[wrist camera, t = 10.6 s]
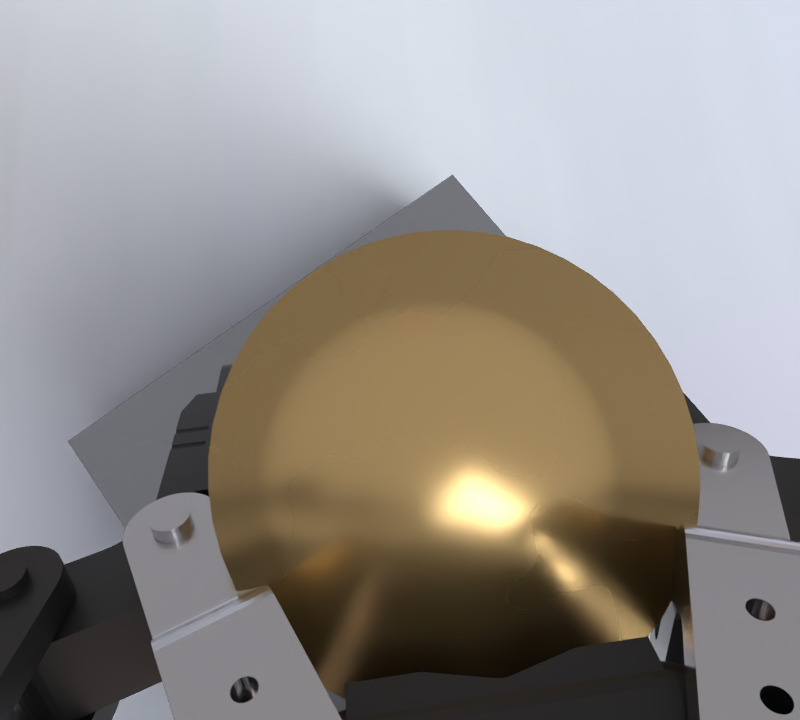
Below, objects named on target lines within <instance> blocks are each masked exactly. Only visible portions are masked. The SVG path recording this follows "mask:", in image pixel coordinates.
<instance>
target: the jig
mask: <svg viewBox="0 0 800 720" xmlns="http://www.w3.org/2000/svg"><path fill="white" fill-rule="evenodd" d="M436 230H462V231H476V232H484V233H489V234H494V235H499V236H504V237H506V236H505V235H504V233H503V232H502V231H501V230H500V229H499V228H498V227H497V225H496V224H495V223H494V222H493V221H492V220H491V218H490V217H489V216H488V215H487V214H486V213H485V212H484V210H483V209H482V208H481V207H480V206H479V205H478V203H477V202H476V201H475V200H474V199H473V198H472V197H471V195H470V194H469V193H468V192H467V191H466V190H465V188H464V187H463V186H462V185H461V184H460V183H459V182H458V180H457V179H456V178H455V177H454V176H453V175H451V176H450V177H448V178H447V179H446V180H444V181H443V182H441V183H440V184H438V185H437V186H436V187H434V188H433V189H431V190H430V191H428V192H427V193H425V194H424V195H423V196H421V197H420V198H418V199H417V200H415V201H414V202H412V203H411V204H410V205H408V206H407V207H405V208H404V209H402V210H401V211H399V212H398V213H397V214H395V215H394V216H392V217H391V218H389V219H388V220H386V221H385V222H384V223H382V224H381V225H379V226H378V227H376V228H375V229H373V230H372V231H371V232H369V233H368V234H366V235H365V236H363V237H362V238H360V239H359V240H358V241H356V242H355V243H353V244H352V245H350V246H349V247H347V248H346V249H345V250H343V251H342V252H340V253H339V254H337V255H336V256H334V257H333V258H332V259H330V260H329V261H327V262H326V263H328V262H330V261H331V260H333V259H335V258H336V257H338V256H340V255H343V254H345V253H347V252H349V251H352V250H354V249H356V248H358V247H361V246H363V245H365V244H369V243H372V242H375V241H379V240H382V239H385V238H388V237H392V236H397V235H403V234H408V233H414V232H420V231H436ZM326 263H324V264H323V265H325V264H326ZM323 265H322V266H323ZM320 267H321V266H320ZM320 267H319V268H320ZM317 269H318V268H317ZM314 271H315V270H314ZM307 276H308V275H307ZM304 278H305V277H304ZM304 278H303V279H304ZM303 279H301V280H303ZM301 280H300V281H301ZM300 281H298V282H297V283H296V284H298V283H299V282H300ZM296 284H294V285H293V286H291V287H290V288H288V289H287V290H285V291H284V292H283V293H281V294H280V295H278V296H277V297H275V298H274V299H272V300H271V301H270V302H268V303H267V304H265V305H264V306H262V307H261V308H259V309H258V310H257V311H255V312H254V313H252V314H251V315H249V316H248V317H246V318H245V319H244V320H242V321H241V322H239V323H238V324H236V325H235V326H233V327H232V328H231V329H229V330H228V331H226V332H225V333H223V334H222V335H221V336H219V337H218V338H216V339H215V340H213V341H212V342H210V343H209V344H208V345H206V346H205V347H203V348H202V349H200V350H199V351H197V352H196V353H195V354H193V355H192V356H190V357H189V358H187V359H186V360H184V361H183V362H182V363H180V364H179V365H177V366H176V367H174V368H173V369H171V370H170V371H169V372H167V373H166V374H164V375H163V376H161V377H160V378H158V379H157V380H156V381H154V382H153V383H151V384H150V385H148V386H147V387H145V388H144V389H143V390H141V391H140V392H138V393H137V394H135V395H134V396H132V397H131V398H130V399H128V400H127V401H125V402H124V403H122V404H121V405H120V406H118V407H117V408H115V409H114V410H112V411H111V412H109V413H108V414H107V415H105V416H104V417H102V418H101V419H99V420H98V421H96V422H95V423H94V424H92V425H91V426H89V427H88V428H86V429H85V430H83V431H82V432H81V433H79V434H78V435H76V436H75V437H73V438H72V439H70V440H69V441H68V442H69V444H70V445H71V447H72V448H73V450H74V451H75V453H76V454H77V456H78V457H79V459H80V460H81V462H82V463H83V465H84V466H85V468H86V469H87V471H88V472H89V474H90V475H91V477H92V479H93V480H94V482H95V483H96V485H97V486H98V488H99V489H100V491H101V492H102V494H103V495H104V497H105V498H106V500H107V501H108V503H109V504H110V506H111V507H112V509H113V510H114V512H115V513H116V515H117V516H118V518H119V519H120V521H121V522H122V524H123V525H124V527H125V528H126V526H127V524H128V523H129V521H130V520H131V519H132V518H133V516H134V515H136V514H137V513H138V512H139V511H140V510H141V509H143V508H144V507H145V506H147V505H149V504H150V503H152V502H154V501H156V499H157V495H158V491H159V488H160V484H161V481H162V477H163V474H164V470H165V467H166V463H167V460H168V456H169V453H170V449H172V442H173V439H174V435H175V434H176V428H177V424H178V421H179V417H180V414H181V411H182V410H183V409H184V408H185V407H186V406H187V405H188V404H189V403H190V402H191V400H192V399H193V398H194V397H195V396H196V395H197V394H205V393H213V392H216V391H217V386H218V381H219V377H220V372H221V368H222V366H223V365H228V364H233V363H234V361H235V360H236V358H237V356H238V354H239V353H240V351H241V349H242V347H243V346H244V344H245V342H246V340H247V339H248V337H249V336H250V334H251V333H252V332H253V330H254V329H255V328H256V326H257V325H258V324H259V322H260V321H261V320H262V318H263V317H264V316H265V315H266V313H267V312H268V311H269V310H270V309H271V308H272V307H273V306H274V305H275V304H276V303H277V302H278V301H279V300H280V299H281V298H282V297H283V296H284V295H285V294H286V293H287V292H288V291H289V290H290V289H291V288H292V287H294V286H295V285H296ZM325 689H326V688H325ZM326 691H327V693H328V695H329V697H330V699H331V701H332V702H333V704H334V706H335V708H336V710H337V712H340V711H342V710H345V709H346V702H345V699H344V698H342V697H340V696H338V695H336V694H334V693H332V692H330V691H329V690H327V689H326Z"/></svg>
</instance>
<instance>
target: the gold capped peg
mask: <svg viewBox="0 0 800 720" xmlns="http://www.w3.org/2000/svg"><path fill="white" fill-rule="evenodd" d="M208 491H209V498H210V506H211V513H212V521H213V526H214V529H215V533H216V537H217V540H218V544H219V548H220V552H221V555H222V558H223V560H224V563H225V565H226V567H227V570H228V572H229V575H230V577H231V579H232V582H233V584H234V586H235V588H236V590H237V591H243V590H248V589H253V588H257V587H262V586H264V585H268V586H269V588H270V589H271V590H272V592H273V594H274V595H275V597H276V599H277V601H278V603H279V604H280V606H281V608H282V610H283V612H284V614H285V616H286V617H287V619H288V621H289V623H290V625H291V627H292V628H293V630H294V632H295V634H296V636H297V638H298V640H299V641H300V643H301V645H302V647H303V649H304V651H305V653H306V654H307V656H308V658H309V660H310V662H311V664H312V665H313V667H314V669H315V671H316V673H317V675H318V677H319V678H320V680H321V682H322V684H323V686H324V688H326V689H327V690H329V691H330V692H332V693H334V694H336V695H338V696H340V697H342V698H344V699H345V683H352V682H358V681H365V680H371V679H377V678H384V677H390V676H397V675H403V674H409V673H416V672H430V673H441V674H453V675H464V676H476V677H488V678H505V677H509V676H512V675H514V674H516V673H518V672H521V671H523V670H525V669H528V668H530V667H532V666H534V665H537V664H539V663H541V662H544V661H546V660H548V659H550V658H553V657H555V656H557V655H559V654H562V653H564V652H566V651H569V650H571V649H573V648H576V647H583V646H589V645H595V644H602V643H608V642H615V641H621V640H627V639H634V638H640V637H647V636H649V635H650V634H651V632H652V631H653V629H654V628H655V627H656V625H657V624H658V622H659V621H660V619H661V618H662V617H663V615H664V614H665V612H666V610H667V608H668V606H669V604H670V602H671V600H672V584H673V568H674V552H675V536H676V526H680V525H681V524H683V525H697V523H698V513H699V501H700V469H699V454H698V449H697V443H696V438H695V432H694V426H693V422H692V419H691V416H690V413H689V410H688V406H687V403H686V400H685V397H684V394H683V392H682V389H681V387H680V385H679V383H678V380H677V378H676V376H675V374H674V372H673V369H672V367H671V365H670V364H669V362H668V360H667V359H666V357H665V355H664V354H663V352H662V350H661V349H660V347H659V345H658V344H657V342H656V340H655V339H654V338H653V336H652V335H651V334H650V333H649V331H648V330H647V329H646V327H645V326H644V325H643V324H642V322H641V321H640V320H639V319H638V317H637V316H636V315H635V314H634V313H633V312H632V311H631V310H630V309H629V308H628V307H627V306H626V305H625V304H624V303H623V302H622V301H621V300H620V299H619V298H618V297H617V296H616V295H615V294H614V293H613V292H612V291H611V290H609V289H608V288H607V287H605V286H604V285H603V284H602V283H600V282H599V281H598V280H597V279H595V278H594V277H593V276H591V275H590V274H589V273H587V272H585V271H584V270H582V269H580V268H579V267H577V266H575V265H574V264H572V263H570V262H569V261H567V260H566V259H564V258H562V257H559V256H557V255H555V254H553V253H551V252H548V251H546V250H544V249H542V248H540V247H538V246H534V245H531V244H528V243H525V242H522V241H519V240H516V239H513V238H509V237H504V236H499V235H494V234H489V233H484V232H476V231H462V230H436V231H420V232H414V233H408V234H403V235H397V236H392V237H388V238H385V239H382V240H379V241H375V242H372V243H369V244H365V245H363V246H361V247H358V248H356V249H354V250H352V251H349V252H347V253H345V254H343V255H340V256H338V257H336V258H335V259H333V260H331V261H330V262H328V263H326V264H325V265H323V266H321V267H320V268H318V269H316V270H315V271H313V272H311V273H310V274H309V275H308V276H306V277H305V278H304V279H303V280H301V281H300V282H299V283H298V284H296V285H295V286H294V287H292V288H291V289H290V290H289V291H288V292H287V293H286V294H285V295H284V296H283V297H282V298H281V299H280V300H279V301H278V302H277V303H276V304H275V305H274V306H273V307H272V308H271V309H270V310H269V311H268V312H267V313H266V315H265V316H264V317H263V318H262V320H261V321H260V322H259V324H258V325H257V326H256V328H255V329H254V330H253V332H252V333H251V334H250V336H249V337H248V339H247V340H246V342H245V344H244V346H243V347H242V349H241V351H240V353H239V354H238V356H237V358H236V360H235V361H234V363H233V365H232V368H231V370H230V373H229V375H228V377H227V380H226V382H225V385H224V387H223V390H222V392H221V395H220V399H219V402H218V406H217V410H216V414H215V417H214V421H213V425H212V433H211V441H210V448H209V456H208Z"/></svg>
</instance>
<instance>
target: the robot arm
mask: <svg viewBox="0 0 800 720" xmlns="http://www.w3.org/2000/svg"><path fill="white" fill-rule="evenodd" d="M232 365H233V364H228V365H223V366H222V368H221V372H220V377H219V381H218V386H217V391H216V392H213V393H205V394H197V395H196V396H195V397H194V398H193V399H192V400H191V402H190V403H189V404H188V405H187V406H186V407H185V408H184V409H183V410H182V411H181V414H180V417H179V421H178V424H177V428H176V434H175V435H174V439H173V442H172V449H170V453H169V456H168V460H167V463H166V467H165V470H164V474H163V477H162V481H161V484H160V488H159V491H158V495H157V499H156V501H154V502H152V503H150V504H149V505H147V506H145V507H144V508H143V509H141V510H140V511H139V512H138V513H137V514H136V515H134V516H133V518H132V519H131V520H130V521H129V523H128V524H127V526H126V528H125V531H124V533H123V541H122V542H120V543H118V544H116V545H114V546H112V547H110V548H107V549H105V550H103V551H100V552H97V553H95V554H92V555H89V556H87V557H84V558H81V559H78V560H76V561H73V562H70V563H68V564H65V565H64V564H63V561H62V559H61V558H60V556H59V554H58V553H56V552H55V551H54V550H52V549H50V548H47V547H42V546H27V547H21V548H16V549H13V550H10V551H7V552H4V553H2V554H0V720H112V718H113V716H114V713H115V711H116V709H117V706H118V703H119V700H122V699H124V698H126V697H128V696H131V695H133V694H135V693H137V692H139V691H142V690H144V689H146V688H148V687H150V686H153V685H155V684H157V683H159V682H161V681H162V682H163V685H164V688H165V691H166V695H167V698H168V701H169V704H170V708H171V711H172V714H173V717H174V720H800V459H796V458H784V457H775V456H769V454H768V451H767V450H766V448H765V447H764V446H763V445H762V444H761V443H760V442H759V441H758V440H757V439H756V438H754V437H753V436H751V435H749V434H748V433H746V432H744V431H741V430H739V429H736V428H733V427H730V426H726V425H722V424H715V423H710V422H709V421H708V420H707V419H706V418H705V416H704V415H703V414H702V413H701V412H700V411H699V410H698V409H697V407H696V406H695V405H694V404H693V403H692V402H691V401H690V399H689V398H688V397H687V396H686V395H685V394H684V393H683V394H684V397H685V400H686V403H687V406H688V410H689V413H690V416H691V419H692V422H693V426H694V432H695V438H696V443H697V449H698V454H699V469H700V501H699V513H698V523H697V525H683V524H681V525H680V526H676V536H675V552H674V568H673V584H672V600H671V602H670V604H669V606H668V608H667V610H666V612H665V614H664V615H663V617H662V618H661V619H660V621H659V622H658V624H657V625H656V627H655V628H654V629H653V631H652V632H651V634H650V640H649V638H648V636H647V637H640V638H634V639H627V640H621V641H615V642H608V643H602V644H595V645H589V646H583V647H576V648H573V649H571V650H569V651H566V652H564V653H562V654H559V655H557V656H555V657H553V658H550V659H548V660H546V661H544V662H541V663H539V664H537V665H534V666H532V667H530V668H528V669H525V670H523V671H521V672H518V673H516V674H514V675H512V676H509V677H505V678H488V677H476V676H464V675H453V674H441V673H430V672H416V673H409V674H403V675H397V676H390V677H384V678H377V679H371V680H365V681H358V682H352V683H345V702H346V709H345V710H342V711H340V712H337V710H336V708H335V706H334V704H333V702H332V701H331V699H330V697H329V695H328V693H327V691H326V689H325V688H324V686H323V684H322V682H321V680H320V678H319V677H318V675H317V673H316V671H315V669H314V667H313V665H312V664H311V662H310V660H309V658H308V656H307V654H306V653H305V651H304V649H303V647H302V645H301V643H300V641H299V640H298V638H297V636H296V634H295V632H294V630H293V628H292V627H291V625H290V623H289V621H288V619H287V617H286V616H285V614H284V612H283V610H282V608H281V606H280V604H279V603H278V601H277V599H276V597H275V595H274V594H273V592H272V590H271V589H270V588H269V586H268V585H264V586H262V587H257V588H253V589H248V590H243V591H237V590H236V588H235V586H234V584H233V582H232V579H231V577H230V575H229V572H228V570H227V567H226V565H225V563H224V560H223V558H222V555H221V552H220V548H219V544H218V540H217V537H216V533H215V529H214V526H213V521H212V513H211V506H210V498H209V491H208V456H209V448H210V441H211V433H212V425H213V421H214V417H215V414H216V410H217V406H218V402H219V399H220V395H221V392H222V390H223V387H224V385H225V382H226V380H227V377H228V375H229V373H230V370H231V368H232Z"/></svg>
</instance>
